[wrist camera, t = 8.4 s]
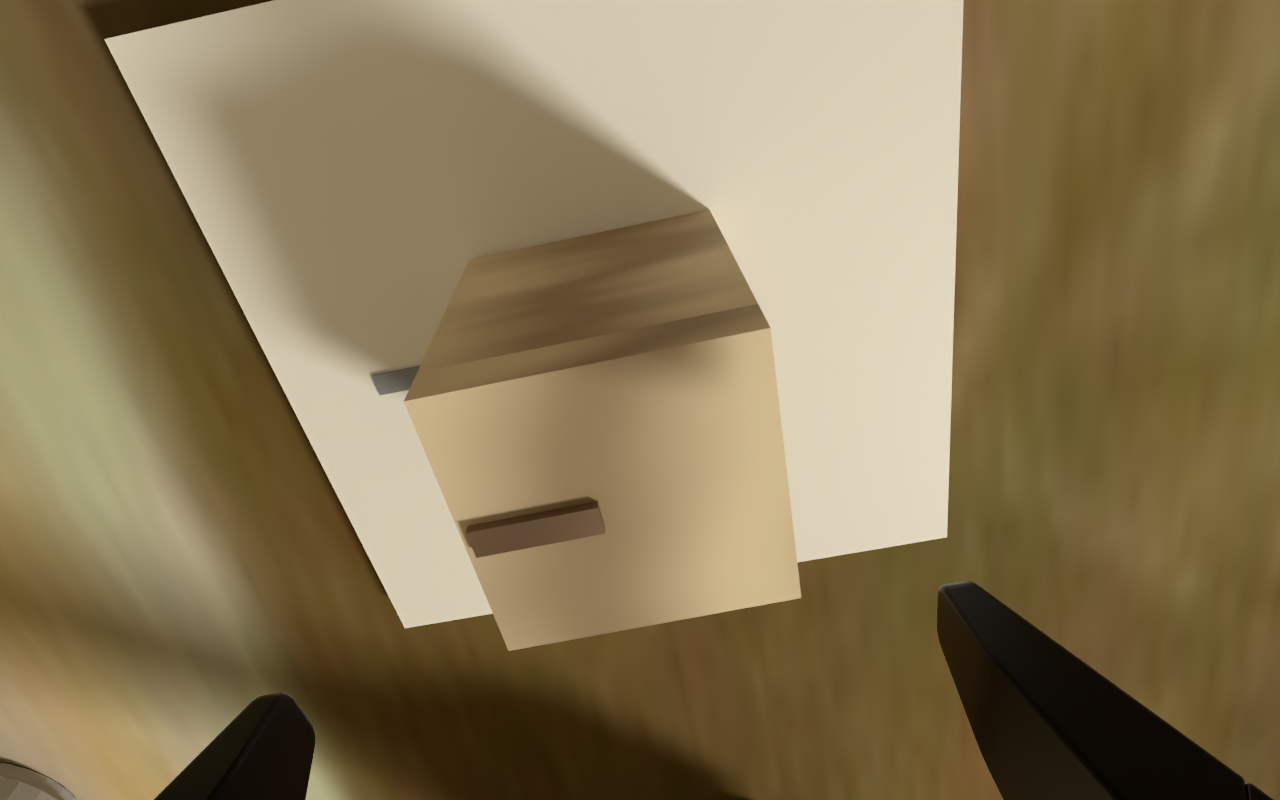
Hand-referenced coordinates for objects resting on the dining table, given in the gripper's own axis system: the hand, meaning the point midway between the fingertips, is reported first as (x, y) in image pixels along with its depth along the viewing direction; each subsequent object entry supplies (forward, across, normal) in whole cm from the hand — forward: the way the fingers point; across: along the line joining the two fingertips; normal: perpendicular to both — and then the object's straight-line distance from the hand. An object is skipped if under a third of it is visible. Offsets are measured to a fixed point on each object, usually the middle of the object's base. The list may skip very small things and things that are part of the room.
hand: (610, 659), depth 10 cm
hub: (+12, 0, 0) cm, 12 cm away
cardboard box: (+10, 0, 0) cm, 11 cm away
